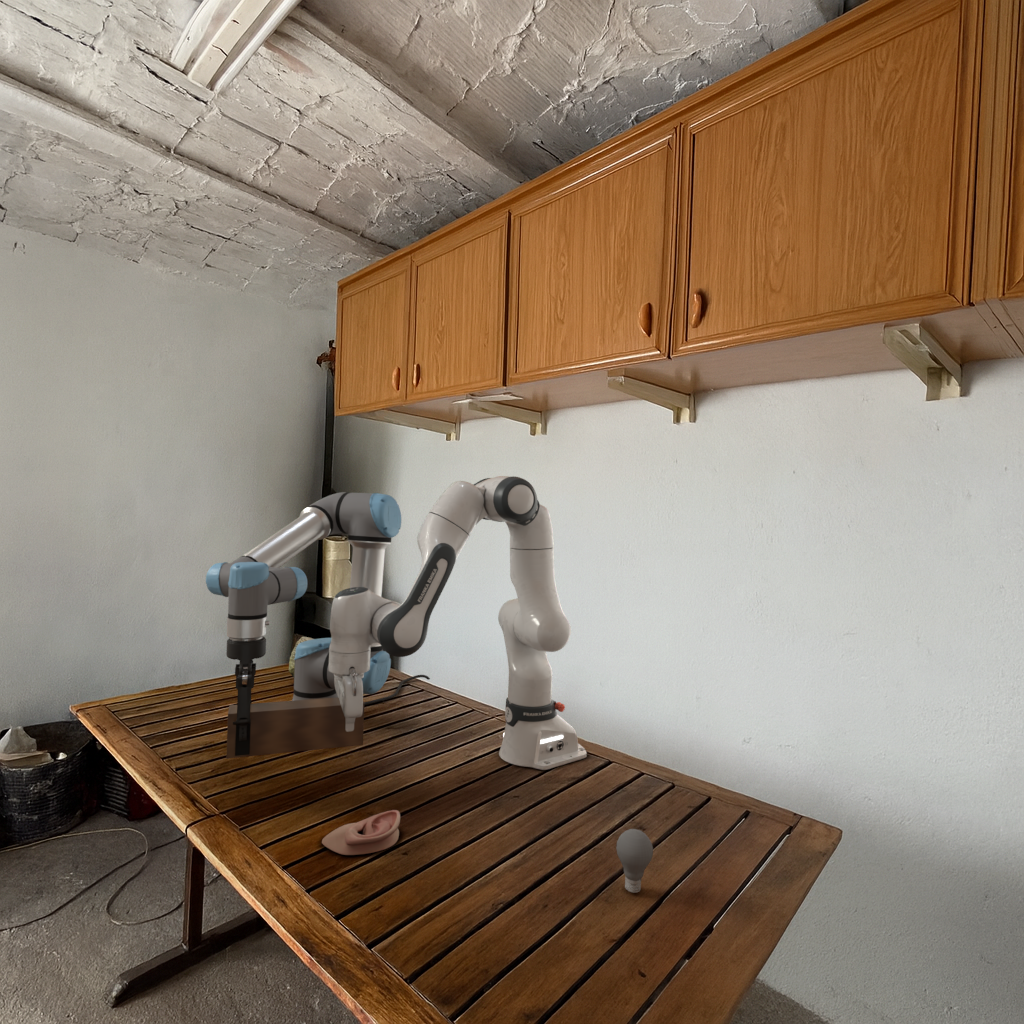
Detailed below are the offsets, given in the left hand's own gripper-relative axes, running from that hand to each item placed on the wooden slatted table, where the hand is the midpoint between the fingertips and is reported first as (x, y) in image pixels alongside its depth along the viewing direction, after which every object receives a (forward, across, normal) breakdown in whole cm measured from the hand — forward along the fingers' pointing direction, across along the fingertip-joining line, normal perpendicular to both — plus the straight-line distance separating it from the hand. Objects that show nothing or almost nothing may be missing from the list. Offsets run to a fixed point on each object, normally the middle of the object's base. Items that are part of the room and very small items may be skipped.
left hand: (242, 748), depth 131 cm
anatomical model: (+11, -23, -21) cm, 33 cm away
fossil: (+11, +82, -21) cm, 85 cm away
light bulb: (+11, -52, -62) cm, 81 cm away
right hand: (-3, 0, -21) cm, 21 cm away
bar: (+1, 0, -11) cm, 11 cm away
